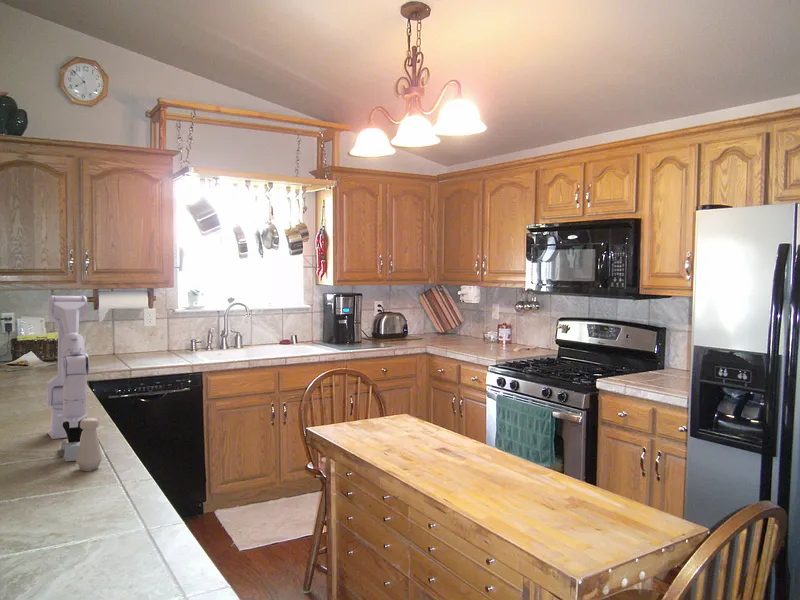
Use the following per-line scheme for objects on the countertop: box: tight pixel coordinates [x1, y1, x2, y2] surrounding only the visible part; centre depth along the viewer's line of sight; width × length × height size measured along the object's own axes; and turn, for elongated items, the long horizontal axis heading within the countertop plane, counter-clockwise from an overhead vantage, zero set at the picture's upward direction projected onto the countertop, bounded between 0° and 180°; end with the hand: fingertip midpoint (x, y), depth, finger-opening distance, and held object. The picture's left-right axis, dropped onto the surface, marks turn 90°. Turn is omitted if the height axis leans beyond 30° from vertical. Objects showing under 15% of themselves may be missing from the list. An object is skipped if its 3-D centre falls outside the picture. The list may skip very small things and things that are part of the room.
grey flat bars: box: [59, 440, 67, 458], centre depth 169 cm, size 9×7×2 cm
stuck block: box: [64, 442, 80, 462], centre depth 162 cm, size 4×4×4 cm
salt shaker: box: [76, 417, 103, 472], centre depth 154 cm, size 6×6×13 cm
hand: (74, 447), depth 165 cm, fingers closed
